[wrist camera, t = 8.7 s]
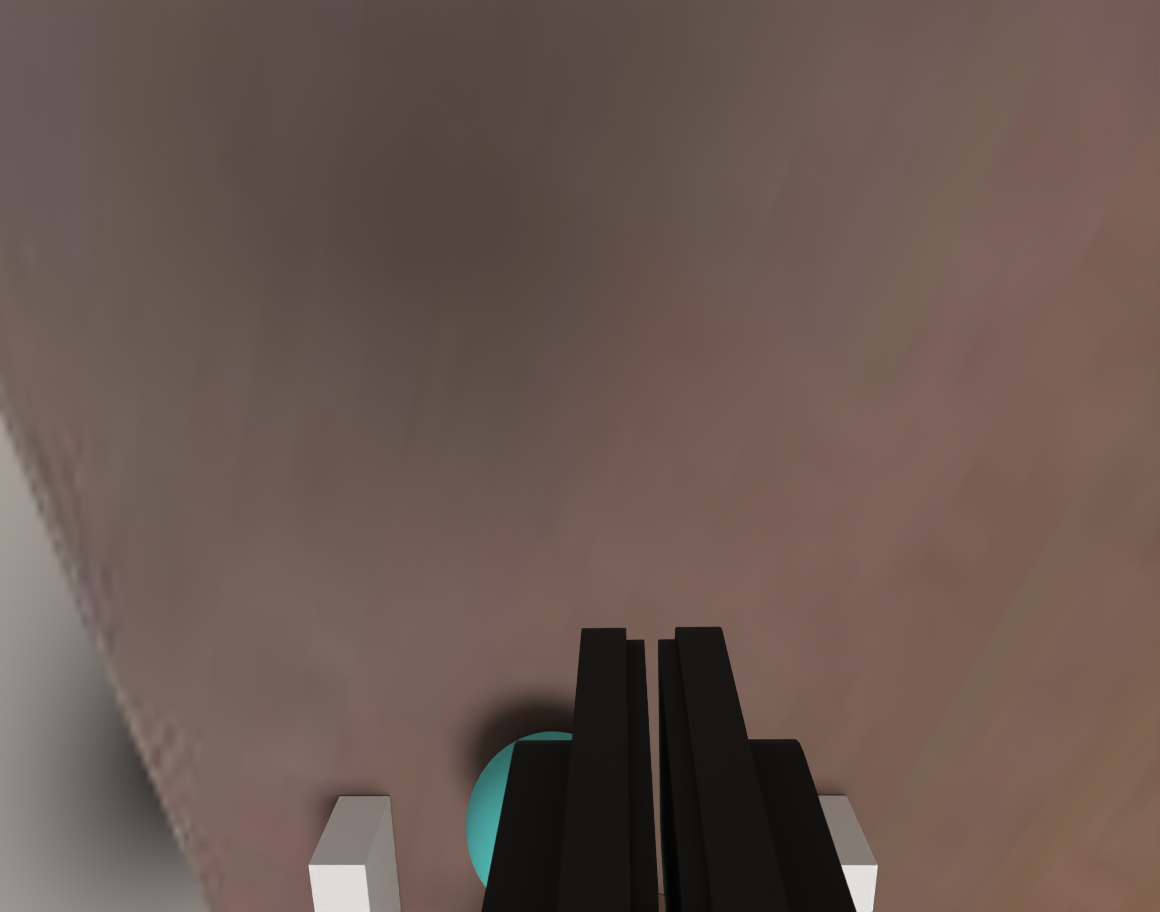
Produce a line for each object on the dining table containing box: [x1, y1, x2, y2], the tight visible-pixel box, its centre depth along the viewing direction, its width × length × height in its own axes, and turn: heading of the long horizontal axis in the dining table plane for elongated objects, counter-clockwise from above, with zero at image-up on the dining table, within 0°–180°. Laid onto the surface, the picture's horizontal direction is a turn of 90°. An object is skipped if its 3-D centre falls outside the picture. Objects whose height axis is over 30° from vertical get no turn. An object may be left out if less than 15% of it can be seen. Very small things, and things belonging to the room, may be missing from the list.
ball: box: [466, 731, 572, 887], centre depth 28 cm, size 6×6×6 cm
